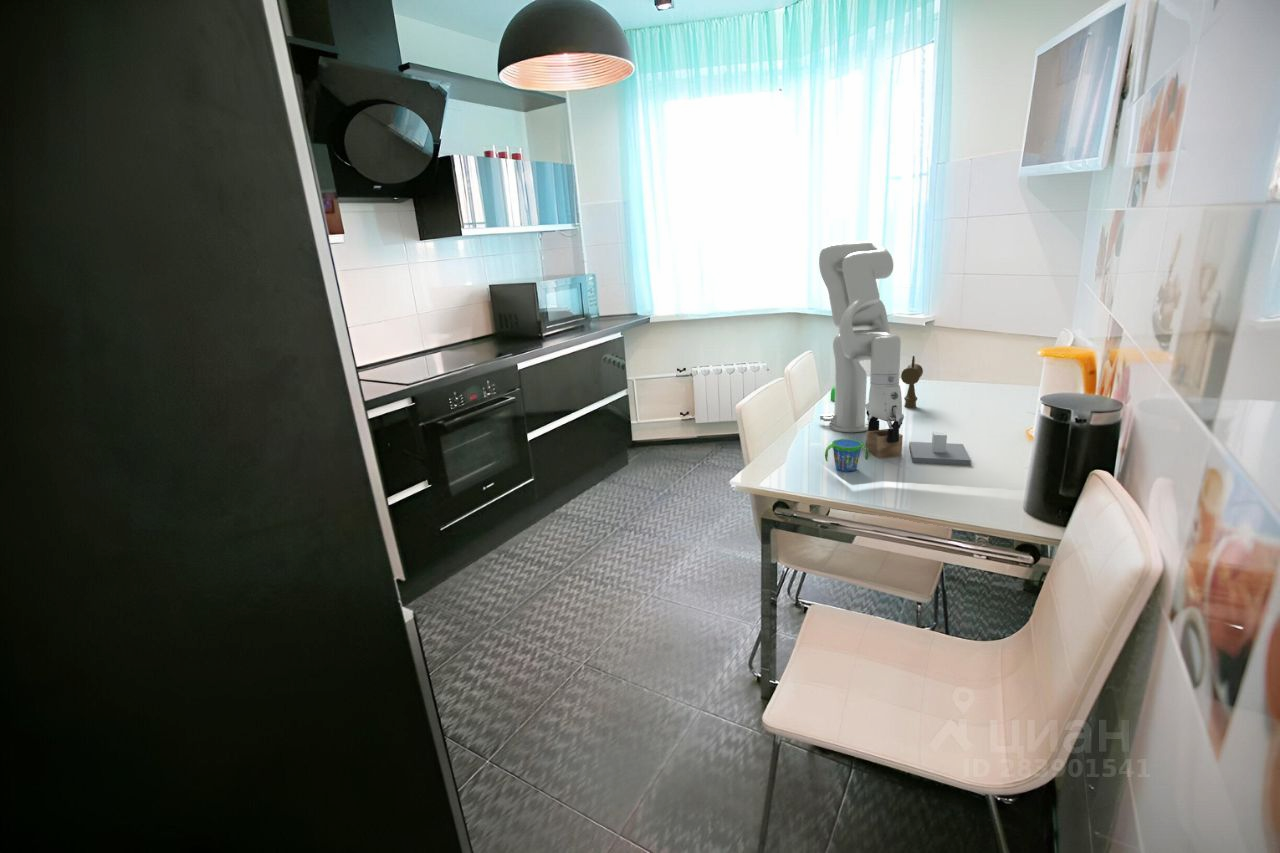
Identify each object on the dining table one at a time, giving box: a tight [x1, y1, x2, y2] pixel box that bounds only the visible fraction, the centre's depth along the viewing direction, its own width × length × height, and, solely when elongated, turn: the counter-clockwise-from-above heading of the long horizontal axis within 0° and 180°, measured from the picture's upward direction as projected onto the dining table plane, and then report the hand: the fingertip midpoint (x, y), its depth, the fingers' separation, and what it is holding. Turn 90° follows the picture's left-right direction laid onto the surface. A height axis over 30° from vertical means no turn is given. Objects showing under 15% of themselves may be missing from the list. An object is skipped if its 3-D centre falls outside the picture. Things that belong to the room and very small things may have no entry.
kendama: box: [900, 355, 924, 409], centre depth 204 cm, size 6×10×20 cm, turn 147°
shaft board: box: [908, 431, 972, 466], centre depth 162 cm, size 14×14×6 cm
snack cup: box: [824, 438, 870, 473], centre depth 157 cm, size 11×8×7 cm
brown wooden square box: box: [865, 428, 903, 459], centre depth 167 cm, size 7×7×6 cm
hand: (882, 438), depth 166 cm, fingers open, 9 cm apart
